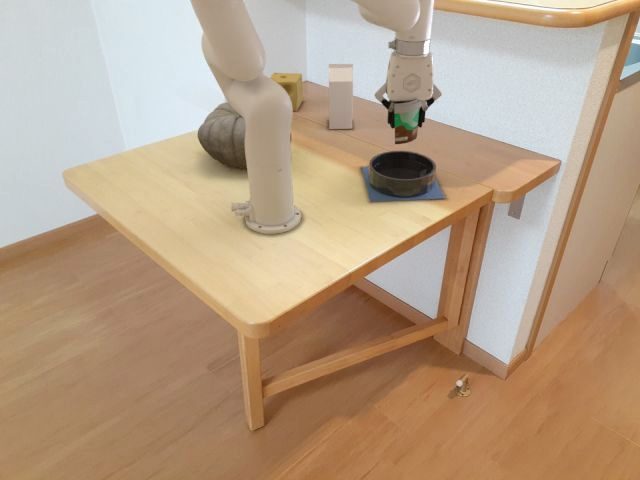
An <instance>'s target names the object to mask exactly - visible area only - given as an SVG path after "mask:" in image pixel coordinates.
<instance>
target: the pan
mask: <svg viewBox="0 0 640 480" xmlns="http://www.w3.org/2000/svg"><path fill="white" fill-rule="evenodd" d="M368 167H369V176H368V181H369V184H370V186H371V187H372V188H373V189H374V190H375V191H377V192H379V193H381V194H384V195H387V196H392V197H398V198H410V197H417V196H421V195H424V194H426V193H428V192H429V191H431V190H432V188H433V186H434V181H435V179H436V172H437V165H436V163H435V161H434V160H432V158H430V157H429V156H426V155H425V154H422V153H420V152H419V153H418V152H415V151H409V150H390V151H383V152H381V153H378V154H376V155H374V156H373V157H372V158H371V159H370V160H369V164H368Z"/></svg>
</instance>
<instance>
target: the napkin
mask: <svg viewBox="0 0 640 480" xmlns="http://www.w3.org/2000/svg"><path fill="white" fill-rule="evenodd" d="M360 169H361V172H362V176H363V180H364V184H365V186H366V187H365V188H366V190H367V195H368V199H369V202H370V203H378V202H380V203H381V202H403V201H425V200H426V201H428V200H431V201H432V200H445V199H446V197H445V195H444V193H443V191H442V189H441V187H440V185H439V183H438V181H437V179H436V178H435V181H434V186H433V188H432V190H431V191H429V192H428V193H426V194H424V195H421V196H417V197H410V198H398V197H392V196H387V195H384V194H381V193H379V192H377V191H375V190H374V189H373V188H372V187H371V186H370V184H369V181H368V176H369V166H361V168H360Z"/></svg>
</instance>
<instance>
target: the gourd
mask: <svg viewBox="0 0 640 480" xmlns="http://www.w3.org/2000/svg"><path fill="white" fill-rule="evenodd" d="M245 132H246V124H245V120H244V118H243V117H242V116H241V115H240V114H239V113H238V112H237V111H235V110H234V109H233V108H232V106H231V105H230V104H229V102H228V101H227V102H222V103H220V104H218V105H217V107H215V108H214V109H213V110H212V111H210V113H209V114H208V115H207V116H206V118H205V119H204V121H203V123H201V125H200V126H199V128H198V130H197V139H198V141H199V144H200V145H201V147H202V149H203V150H204V151H205V152H206V153H207V154H208V155H209V157H211V158H212V159H213V160H215V161H217V162H218V163H220V164H222V165H223V166H226V167H228V168H230V169H242V168H244V169H247V163H246V156H245ZM290 143H292V134H291V135H290Z"/></svg>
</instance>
